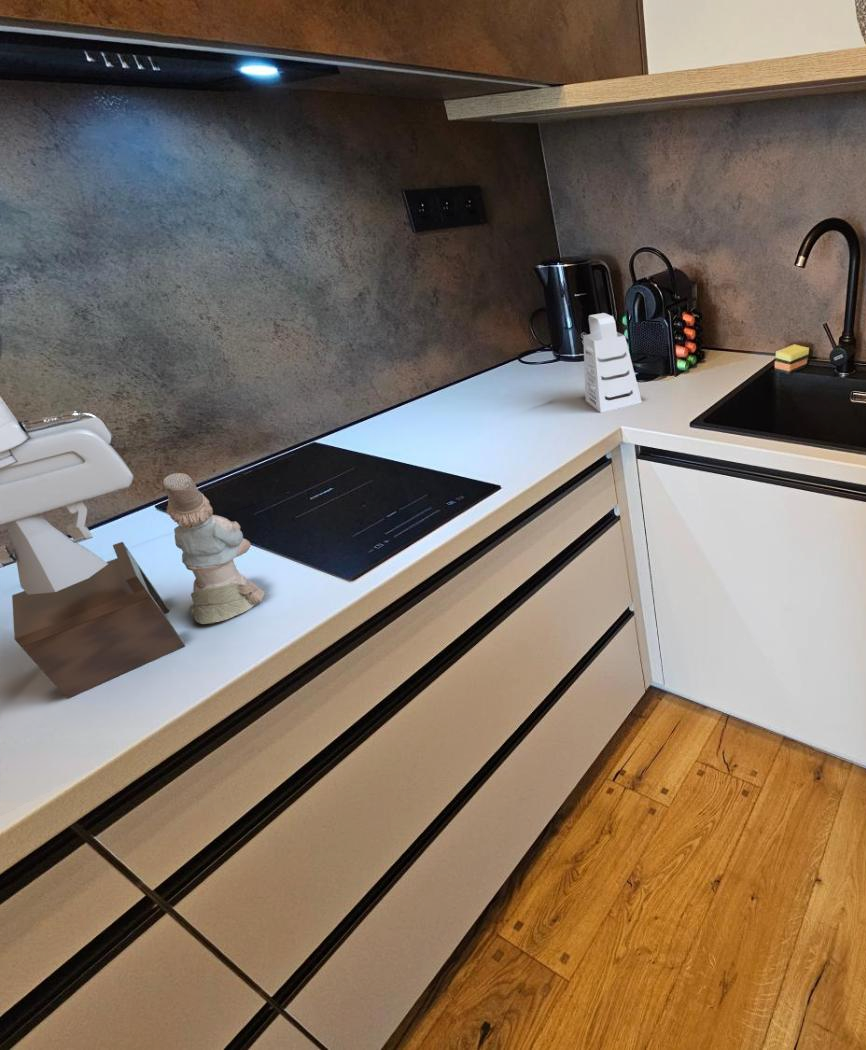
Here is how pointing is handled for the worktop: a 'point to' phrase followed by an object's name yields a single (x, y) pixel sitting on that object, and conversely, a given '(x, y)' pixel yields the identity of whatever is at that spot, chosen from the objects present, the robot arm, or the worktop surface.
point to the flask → (49, 556)
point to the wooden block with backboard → (95, 626)
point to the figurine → (209, 553)
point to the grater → (608, 366)
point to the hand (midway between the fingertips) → (46, 551)
